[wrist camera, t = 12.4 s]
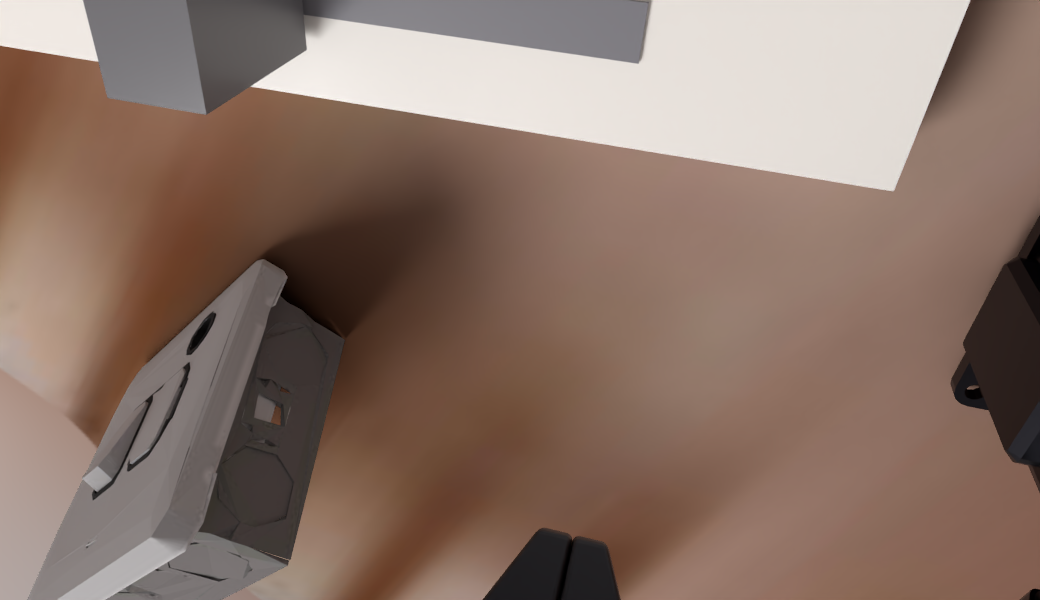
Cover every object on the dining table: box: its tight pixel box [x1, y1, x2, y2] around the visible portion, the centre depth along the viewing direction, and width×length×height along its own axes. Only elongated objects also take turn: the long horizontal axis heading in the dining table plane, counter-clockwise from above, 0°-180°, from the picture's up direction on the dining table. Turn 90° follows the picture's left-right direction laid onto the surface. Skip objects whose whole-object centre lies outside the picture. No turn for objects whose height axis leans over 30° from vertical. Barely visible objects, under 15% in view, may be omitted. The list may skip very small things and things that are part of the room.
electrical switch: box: [27, 259, 345, 600], centre depth 23 cm, size 9×5×9 cm, turn 134°
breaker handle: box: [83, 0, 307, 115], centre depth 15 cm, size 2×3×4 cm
